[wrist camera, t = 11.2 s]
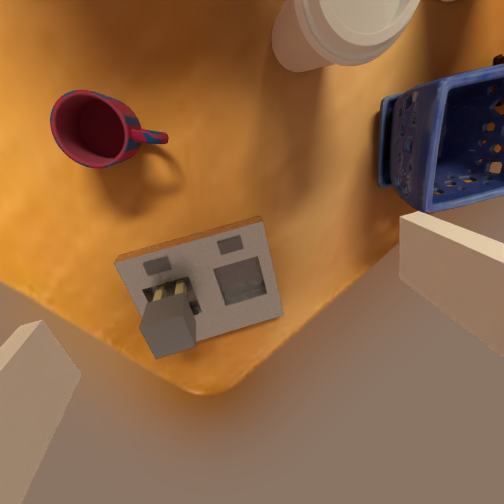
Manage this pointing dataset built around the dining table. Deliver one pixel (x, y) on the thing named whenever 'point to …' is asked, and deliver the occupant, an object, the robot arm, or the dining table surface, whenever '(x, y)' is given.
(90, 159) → the cup
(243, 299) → the socket
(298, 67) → the coffee cup
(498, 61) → the mate gourd
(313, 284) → the dining table surface
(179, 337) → the plug
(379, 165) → the flower pot
